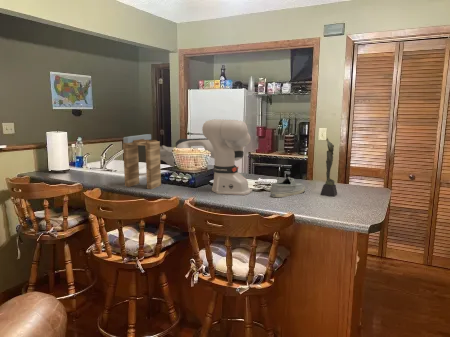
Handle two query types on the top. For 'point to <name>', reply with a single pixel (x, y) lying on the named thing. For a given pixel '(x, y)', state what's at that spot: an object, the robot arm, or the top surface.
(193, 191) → the top surface
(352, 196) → the top surface
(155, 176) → the oak bridge
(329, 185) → the statue
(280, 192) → the boat shoe
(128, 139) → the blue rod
